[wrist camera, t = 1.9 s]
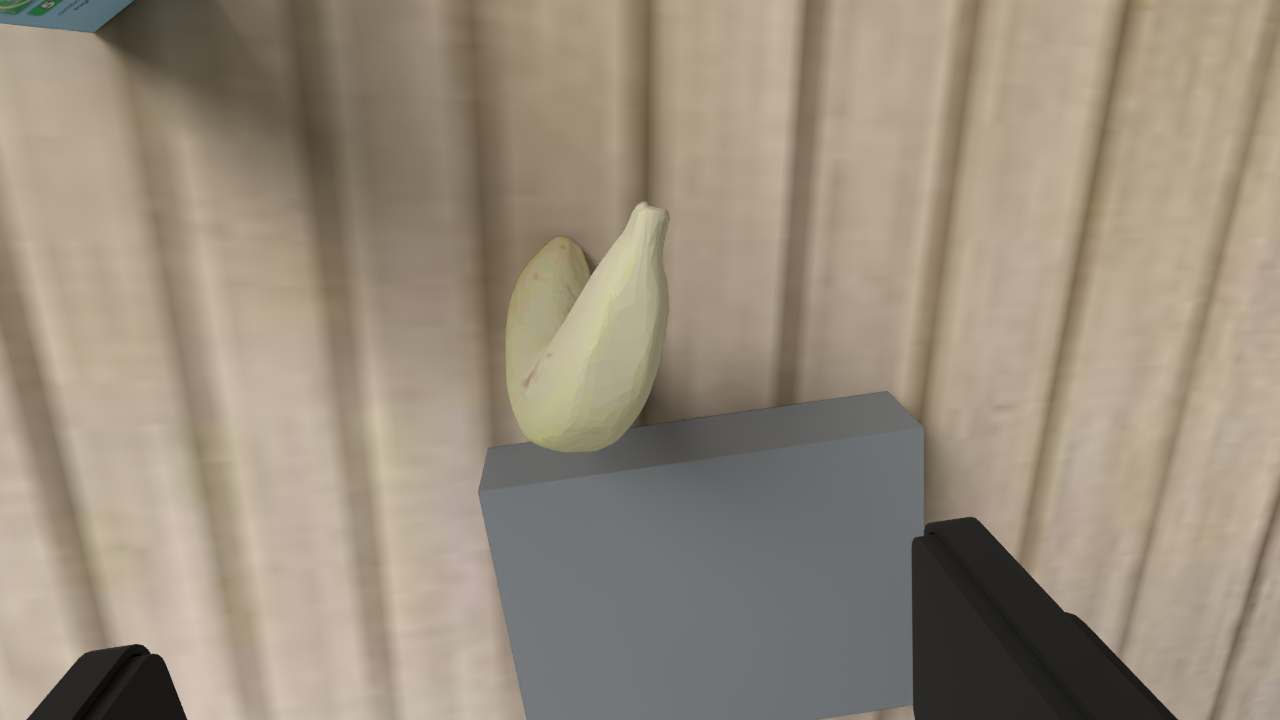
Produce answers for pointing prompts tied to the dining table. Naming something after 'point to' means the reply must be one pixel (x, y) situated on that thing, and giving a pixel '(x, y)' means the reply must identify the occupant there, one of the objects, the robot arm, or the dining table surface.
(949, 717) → the robot arm
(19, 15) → the gum box
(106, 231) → the dining table surface
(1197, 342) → the dining table surface
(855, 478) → the podium
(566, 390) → the fruit
